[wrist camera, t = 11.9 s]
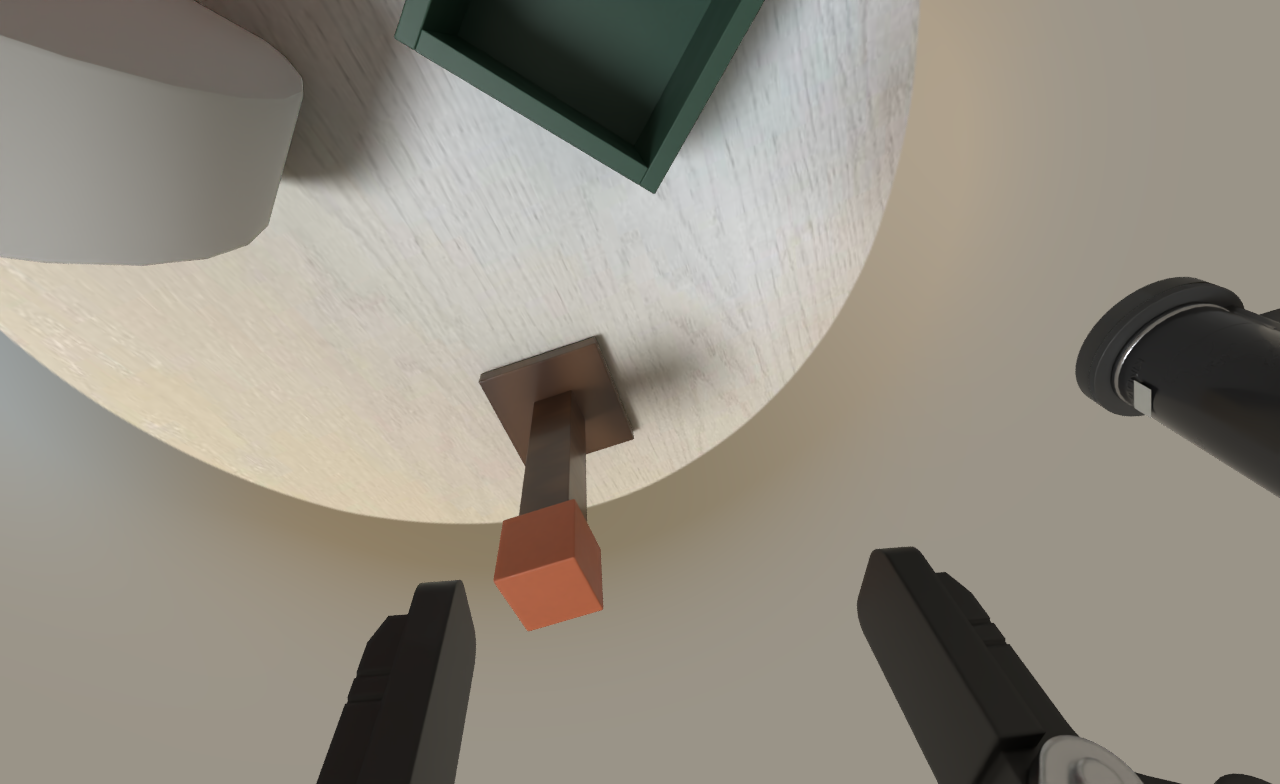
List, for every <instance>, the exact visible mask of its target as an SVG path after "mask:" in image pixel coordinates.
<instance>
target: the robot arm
mask: <svg viewBox="0 0 1280 784" xmlns="http://www.w3.org/2000/svg"><path fill="white" fill-rule="evenodd" d="M1111 387H1112V390H1113V392H1114V393H1115V395H1116V396H1117V397H1118V398H1119V399H1121V400H1122V401H1124V402H1125V403H1127V404H1129V405H1131V406H1133V407H1134V408H1135V409H1137V410H1138V411H1140V412H1142V413H1143V414H1145V415H1146V416H1148V417H1150V418H1151V417H1152V418H1154V419H1155V420H1157V421H1158V422H1160V423H1161V424H1163V425H1164V426H1166V427H1167V428H1169V429H1171V430H1172V431H1174V432H1175V433H1177V434H1179V435H1180V436H1182V437H1183V438H1185V439H1187V440H1188V441H1190V442H1191V443H1193V444H1195V445H1196V446H1198V447H1199V448H1201V449H1203V450H1204V451H1206V452H1208V453H1209V454H1210V455H1212V456H1214V457H1215V458H1217V459H1219V460H1220V461H1222V462H1224V463H1225V464H1226V465H1228V466H1230V467H1231V468H1233V469H1235V470H1236V471H1238V472H1239V473H1241V474H1242V475H1244V476H1246V477H1247V478H1249V479H1250V480H1252V481H1254V482H1255V483H1257V484H1258V485H1260V486H1262V487H1263V488H1265V489H1266V490H1268V491H1270V492H1271V493H1273V494H1274V495H1276V496H1278V497H1279V498H1280V309H1277V310H1273V311H1270V312H1267V313H1264V314H1260V315H1258V314H1256V313H1253V312H1250V311H1248V310H1245V309H1242V308H1240V307H1237V306H1234V305H1232V306H1228V307H1225V308H1223V307H1221V306H1218V305H1215V304H1213V303H1209V302H1191V303H1186V304H1182V305H1179V306H1176V307H1174V308H1171V309H1169V310H1167V311H1165V312H1163V313H1161V314H1159V315H1157V316H1156V317H1154V318H1153V319H1151V320H1150V321H1148V322H1147V323H1146V324H1144V325H1143V326H1142V327H1141V328H1140V329H1138V330H1137V331H1136V332H1135V333H1134V334H1133V335H1132V336H1131V337H1130V339H1129V340H1128V341H1127V342H1126V343H1125V345H1124V346H1123V347H1122V349H1121V350H1120V352H1119V354H1118V355H1117V357H1116V359H1115V362H1114V364H1113V367H1112V371H1111ZM857 611H858V618H859V622H860V625H861V628H862V631H863V633H864V635H865V637H866V639H867V641H868V643H869V645H870V647H871V649H872V651H873V653H874V655H875V657H876V659H877V661H878V663H879V665H880V667H881V669H882V671H883V673H884V675H885V677H886V679H887V681H888V683H889V685H890V687H891V689H892V691H893V693H894V695H895V697H896V699H897V701H898V703H899V705H900V707H901V709H902V711H903V713H904V715H905V717H906V719H907V721H908V723H909V725H910V727H911V729H912V731H913V733H914V735H915V738H916V740H917V742H918V744H919V746H920V748H921V750H922V751H923V754H924V756H925V758H926V760H927V762H928V764H929V765H930V767H931V770H932V772H933V774H934V776H935V777H936V780H937V782H938V784H1180V783H1176V782H1171V781H1167V780H1163V779H1159V778H1154V777H1150V776H1146V775H1143V774H1139V773H1136V772H1134V771H1133V770H1132V769H1131V768H1130V767H1129V766H1128V765H1127V764H1126V763H1124V762H1123V761H1122V760H1121V759H1120V758H1118V757H1117V756H1116V755H1114V754H1113V753H1112V752H1110V751H1108V750H1107V749H1106V748H1104V747H1102V746H1100V745H1098V744H1096V743H1094V742H1092V741H1090V740H1087V739H1084V738H1081V737H1079V736H1078V735H1077V734H1076V733H1075V732H1074V730H1073V729H1072V728H1071V727H1070V726H1069V724H1068V723H1067V722H1066V720H1065V719H1064V718H1063V716H1062V715H1061V714H1060V712H1059V711H1058V709H1057V708H1056V707H1055V705H1054V704H1053V703H1052V701H1051V700H1050V699H1049V697H1048V696H1047V695H1046V693H1045V692H1044V690H1043V689H1042V688H1041V686H1040V685H1039V684H1038V682H1037V681H1036V680H1035V679H1034V677H1033V676H1032V674H1031V673H1030V672H1029V670H1028V669H1027V668H1026V666H1025V665H1024V663H1023V662H1022V661H1021V660H1020V658H1019V657H1018V655H1017V654H1016V653H1015V651H1014V650H1013V648H1012V647H1011V646H1010V644H1006V642H1005V638H1004V636H1003V635H1002V634H1001V632H1000V631H999V630H998V628H997V627H996V625H995V624H994V623H991V622H990V618H989V616H988V615H987V613H986V612H985V610H984V609H983V608H982V606H981V605H980V604H979V602H978V601H977V600H976V598H975V597H974V596H973V594H972V593H971V592H970V591H968V590H967V589H966V588H965V587H964V586H962V585H961V584H960V583H959V582H957V581H956V580H955V579H954V578H952V577H951V576H950V575H949V574H947V573H946V572H941V573H935V572H934V571H933V569H932V568H931V566H930V565H929V563H928V562H927V560H926V559H925V558H924V556H923V555H922V553H921V552H920V551H919V550H918V549H916V548H914V547H898V548H886V549H876V550H874V551H872V553H871V555H870V558H869V562H868V565H867V569H866V572H865V575H864V579H863V583H862V586H861V589H860V593H859V596H858V601H857ZM475 653H476V638H475V630H474V625H473V621H472V617H471V613H470V609H469V605H468V601H467V597H466V593H465V588H464V585H463V582H462V581H461V580H455V581H441V582H428V583H420V584H419V585H418V586H417V588H416V590H415V593H414V596H413V600H412V603H411V606H410V609H409V613H408V614H407V615H394V616H388V617H387V618H386V620H385V621H384V622H383V623H382V625H381V626H380V627H379V629H378V630H377V631H376V632H375V633H374V635H373V636H372V637H371V639H370V640H369V641H368V642H367V645H366V648H365V650H364V653H363V656H362V659H361V661H360V664H359V667H358V670H357V677H356V678H355V679H354V681H353V684H352V686H351V689H350V692H349V695H348V702H347V704H345V706H344V708H343V711H342V714H341V717H340V720H339V722H338V725H337V728H336V731H335V733H334V736H333V739H332V742H331V744H330V748H329V750H328V753H327V756H326V759H325V761H324V764H323V767H322V769H321V772H320V775H319V778H318V781H317V784H454V781H455V776H456V769H457V764H458V759H459V752H460V746H461V741H462V735H463V729H464V723H465V717H466V712H467V705H468V700H469V693H470V688H471V682H472V677H473V671H474V665H475V655H476V654H475ZM1214 784H1271V783H1269V782H1266V781H1264V780H1262V779H1259V778H1256V777H1252V776H1248V775H1244V774H1228V775H1224V776H1222V777H1220V778H1219V779H1218V780H1217V781H1216V782H1215V783H1214Z"/></svg>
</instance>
